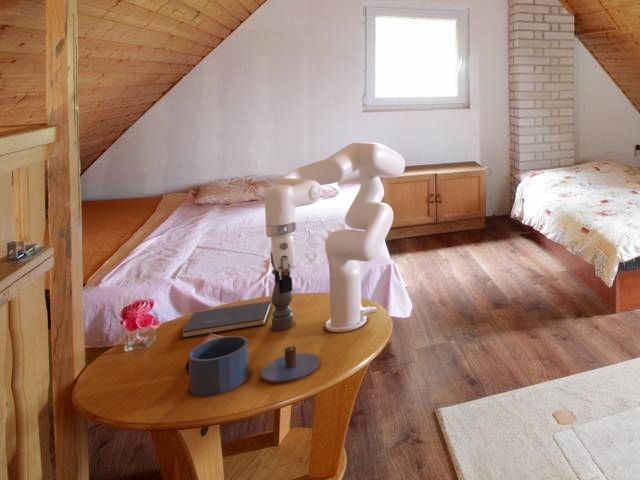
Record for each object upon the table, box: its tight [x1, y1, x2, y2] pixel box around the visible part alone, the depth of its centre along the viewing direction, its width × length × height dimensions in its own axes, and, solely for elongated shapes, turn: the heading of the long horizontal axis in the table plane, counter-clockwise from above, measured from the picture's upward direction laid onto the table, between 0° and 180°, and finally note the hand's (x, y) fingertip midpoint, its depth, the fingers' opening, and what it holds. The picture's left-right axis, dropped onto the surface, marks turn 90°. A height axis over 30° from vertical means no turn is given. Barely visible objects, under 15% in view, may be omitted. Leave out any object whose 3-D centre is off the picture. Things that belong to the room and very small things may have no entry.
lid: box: [260, 345, 320, 383], centre depth 163 cm, size 15×15×6 cm
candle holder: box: [270, 251, 294, 332], centre depth 190 cm, size 6×6×25 cm
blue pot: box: [187, 335, 250, 397], centre depth 158 cm, size 14×14×10 cm
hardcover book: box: [180, 300, 272, 339], centre depth 194 cm, size 16×23×2 cm
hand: (284, 286), depth 167 cm, fingers open, 9 cm apart
